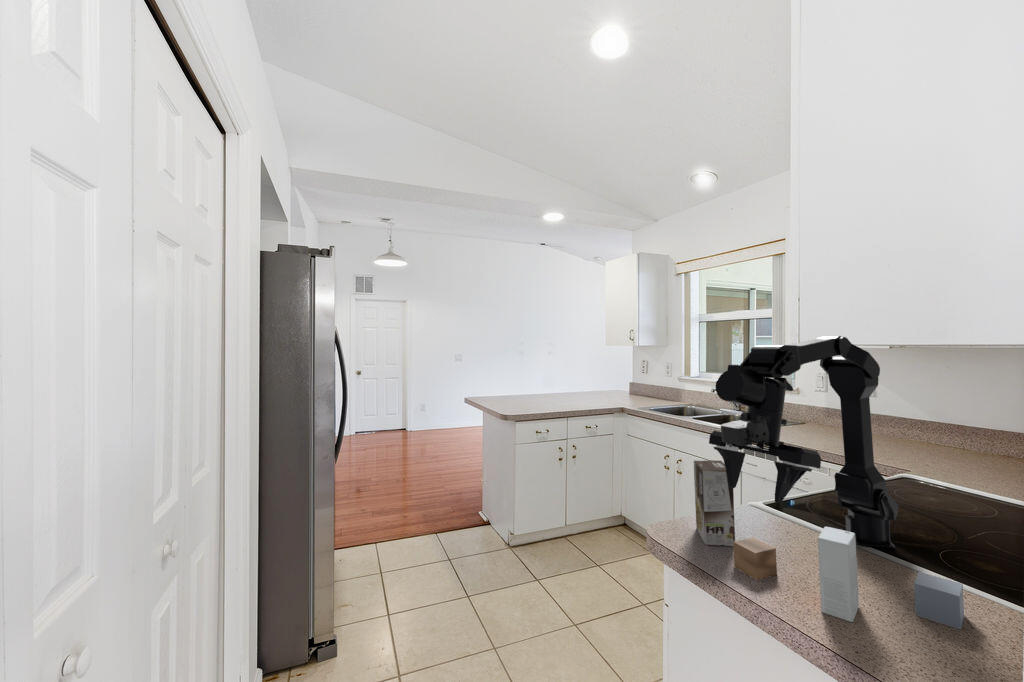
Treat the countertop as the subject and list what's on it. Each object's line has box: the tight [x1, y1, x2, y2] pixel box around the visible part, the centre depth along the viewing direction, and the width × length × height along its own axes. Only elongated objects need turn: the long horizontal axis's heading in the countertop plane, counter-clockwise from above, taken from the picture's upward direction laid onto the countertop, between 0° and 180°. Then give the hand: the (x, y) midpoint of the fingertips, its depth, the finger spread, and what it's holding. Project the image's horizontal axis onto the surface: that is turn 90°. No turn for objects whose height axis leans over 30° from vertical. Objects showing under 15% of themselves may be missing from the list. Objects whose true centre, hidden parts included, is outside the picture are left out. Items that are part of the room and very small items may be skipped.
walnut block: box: [733, 537, 778, 581], centre depth 82 cm, size 5×5×5 cm
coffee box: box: [693, 459, 736, 547], centre depth 97 cm, size 9×6×16 cm
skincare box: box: [817, 526, 860, 623], centre depth 70 cm, size 6×4×12 cm
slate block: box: [913, 571, 965, 630], centre depth 68 cm, size 5×5×5 cm
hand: (753, 494), depth 80 cm, fingers open, 9 cm apart
